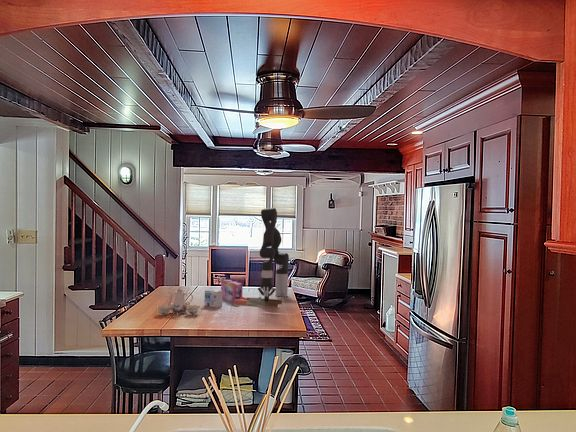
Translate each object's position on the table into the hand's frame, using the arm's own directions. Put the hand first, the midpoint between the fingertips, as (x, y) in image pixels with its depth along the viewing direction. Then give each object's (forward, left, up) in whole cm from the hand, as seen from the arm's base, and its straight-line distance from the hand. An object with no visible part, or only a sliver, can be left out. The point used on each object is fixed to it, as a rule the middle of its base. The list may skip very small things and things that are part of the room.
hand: (266, 301), depth 314 cm
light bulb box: (+11, -35, -3) cm, 36 cm away
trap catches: (0, -17, -2) cm, 17 cm away
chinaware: (+40, -45, -3) cm, 60 cm away
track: (0, -6, -3) cm, 6 cm away
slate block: (+1, -8, -2) cm, 8 cm away
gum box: (-15, -32, -3) cm, 35 cm away
